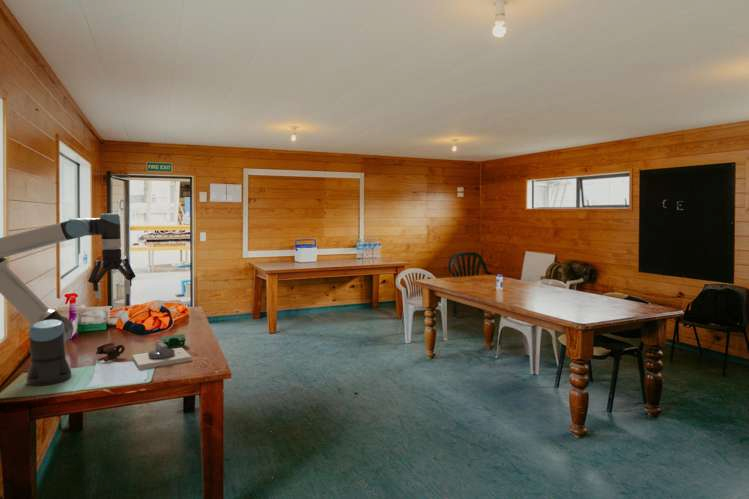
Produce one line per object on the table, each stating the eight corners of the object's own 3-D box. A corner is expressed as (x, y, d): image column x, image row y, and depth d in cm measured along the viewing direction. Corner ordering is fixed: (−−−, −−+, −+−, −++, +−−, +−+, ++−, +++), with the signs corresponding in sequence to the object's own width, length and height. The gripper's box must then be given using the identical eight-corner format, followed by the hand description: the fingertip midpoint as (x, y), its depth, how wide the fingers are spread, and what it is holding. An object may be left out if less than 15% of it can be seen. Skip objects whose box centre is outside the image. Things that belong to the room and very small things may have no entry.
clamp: (166, 357, 240) (158, 343, 236) (164, 352, 245) (157, 338, 241) (189, 346, 244) (182, 332, 240) (187, 340, 249) (180, 327, 245)
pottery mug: (97, 364, 217) (92, 347, 219) (101, 367, 225) (97, 351, 227) (125, 354, 222) (121, 338, 224) (129, 358, 230) (124, 342, 232)
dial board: (138, 369, 208) (138, 364, 208) (132, 359, 223) (132, 354, 223) (191, 360, 221) (191, 356, 221) (182, 351, 236) (181, 347, 235)
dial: (177, 355, 221) (177, 343, 220) (151, 360, 214) (151, 347, 214) (170, 350, 230) (170, 338, 229) (145, 354, 223) (145, 342, 222)
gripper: (132, 246, 225) (134, 291, 227) (77, 250, 204) (79, 299, 205) (142, 247, 222) (144, 292, 223) (87, 250, 200) (89, 301, 202)
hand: (113, 296), depth 214 cm, fingers open, 13 cm apart
